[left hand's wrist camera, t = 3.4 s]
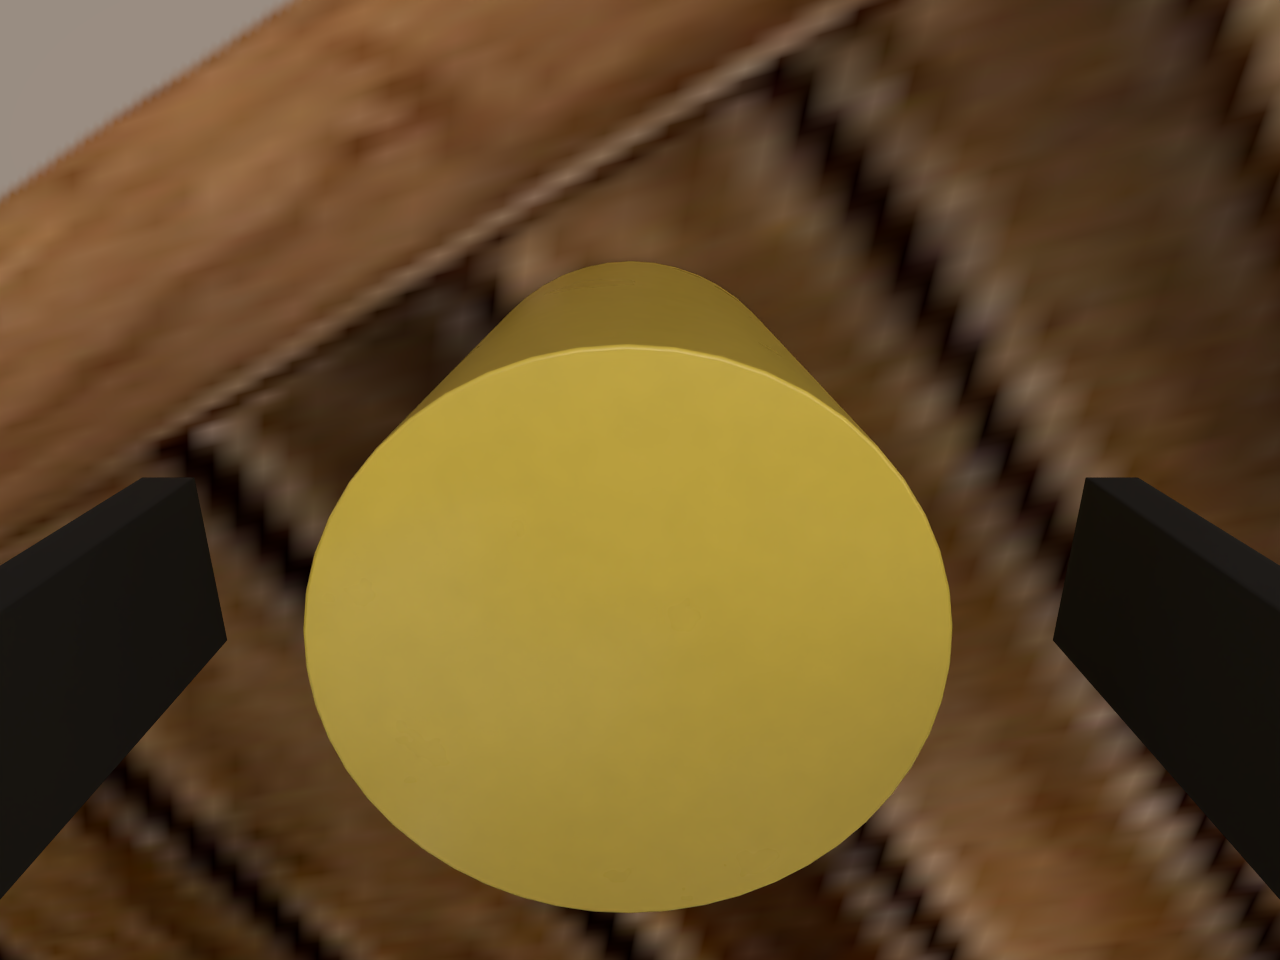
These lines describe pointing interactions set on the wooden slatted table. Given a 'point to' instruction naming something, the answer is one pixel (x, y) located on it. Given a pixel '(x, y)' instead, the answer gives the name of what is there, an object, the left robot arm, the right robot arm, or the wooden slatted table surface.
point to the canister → (628, 606)
